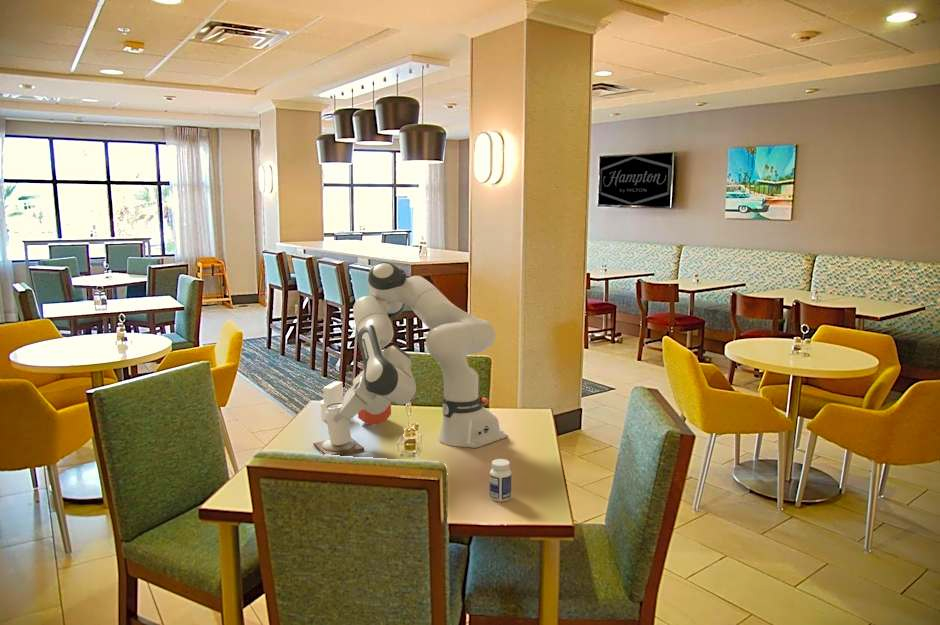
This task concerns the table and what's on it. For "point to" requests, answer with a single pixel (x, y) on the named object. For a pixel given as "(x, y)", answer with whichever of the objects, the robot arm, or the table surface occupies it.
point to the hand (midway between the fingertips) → (335, 417)
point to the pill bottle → (500, 480)
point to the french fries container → (376, 411)
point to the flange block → (338, 448)
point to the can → (337, 426)
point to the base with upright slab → (331, 396)
